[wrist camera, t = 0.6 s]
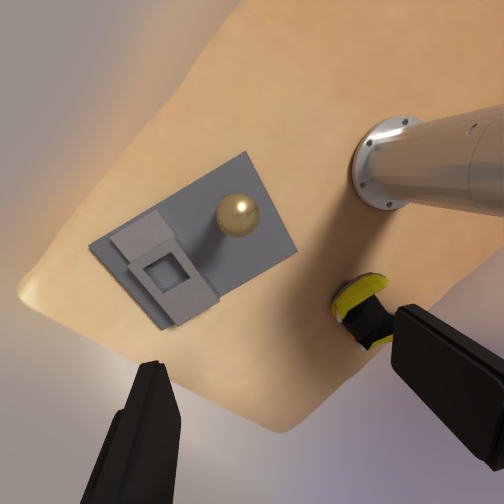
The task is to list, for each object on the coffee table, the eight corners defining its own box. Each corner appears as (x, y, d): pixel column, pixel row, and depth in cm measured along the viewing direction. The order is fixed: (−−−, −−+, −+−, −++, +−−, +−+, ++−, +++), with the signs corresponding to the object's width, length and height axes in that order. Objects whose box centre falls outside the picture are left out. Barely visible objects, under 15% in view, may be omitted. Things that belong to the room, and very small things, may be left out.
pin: (238, 181, 32) (246, 185, 23) (253, 210, 33) (267, 223, 25) (209, 198, 32) (207, 208, 23) (226, 226, 33) (230, 245, 25)
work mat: (244, 151, 32) (245, 150, 31) (295, 249, 37) (297, 251, 36) (91, 243, 32) (87, 245, 31) (163, 326, 38) (162, 330, 37)
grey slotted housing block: (158, 208, 31) (154, 210, 29) (219, 293, 36) (219, 301, 34) (113, 235, 31) (105, 240, 29) (180, 316, 37) (177, 326, 34)
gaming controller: (363, 258, 40) (316, 296, 41) (386, 271, 34) (331, 314, 35) (401, 314, 45) (358, 347, 46) (426, 333, 39) (377, 369, 40)
